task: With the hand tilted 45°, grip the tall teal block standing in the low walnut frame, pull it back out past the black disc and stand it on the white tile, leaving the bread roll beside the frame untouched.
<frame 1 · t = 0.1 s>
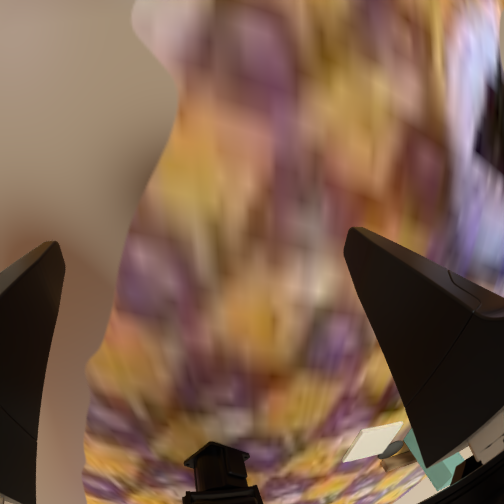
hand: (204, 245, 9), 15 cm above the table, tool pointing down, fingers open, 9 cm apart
black disc: (390, 449, 44), on the table
white tile: (372, 441, 41), on the table
teal block: (417, 429, 43), on the table
walnut frame: (418, 429, 43), on the table
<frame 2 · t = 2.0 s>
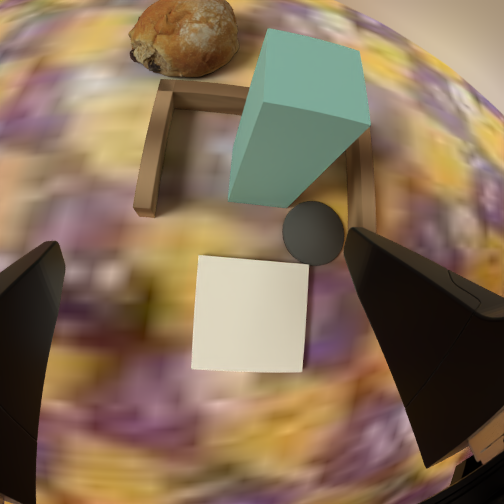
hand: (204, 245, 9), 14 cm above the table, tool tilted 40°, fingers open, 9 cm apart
black disc: (313, 233, 24), on the table
white tile: (250, 316, 23), on the table
bread roll: (184, 48, 25), on the table
teal block: (259, 177, 24), on the table
walnut frame: (259, 177, 24), on the table
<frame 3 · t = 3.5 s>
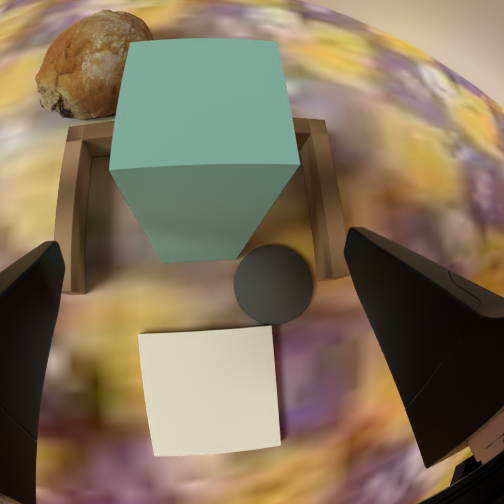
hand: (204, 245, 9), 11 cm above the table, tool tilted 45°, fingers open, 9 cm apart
black disc: (273, 284, 20), on the table
white tile: (210, 393, 18), on the table
bread roll: (101, 81, 21), on the table
teal block: (198, 226, 20), on the table
walnut frame: (198, 226, 20), on the table
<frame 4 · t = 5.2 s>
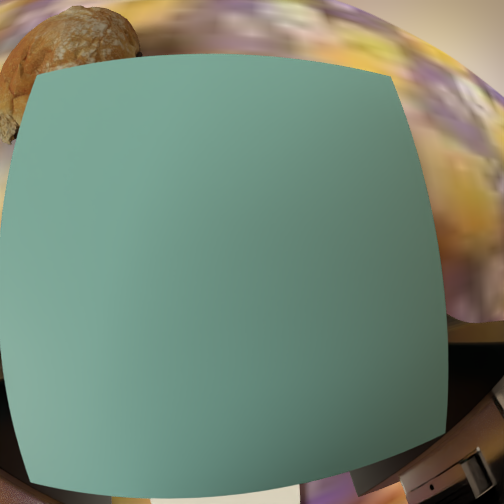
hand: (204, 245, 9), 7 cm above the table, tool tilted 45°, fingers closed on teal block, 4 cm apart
white tile: (224, 489, 13), on the table
bread roll: (74, 98, 16), on the table
teal block: (203, 302, 15), on the table, touching gripper
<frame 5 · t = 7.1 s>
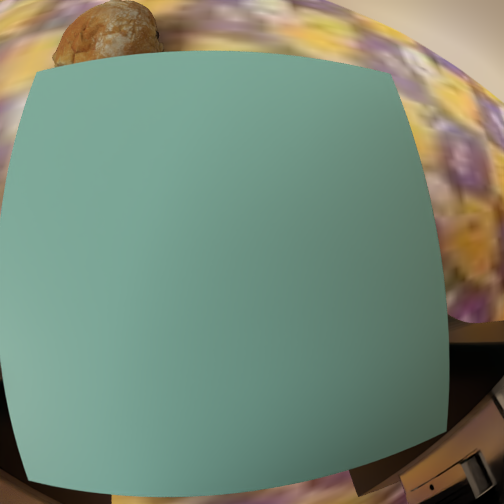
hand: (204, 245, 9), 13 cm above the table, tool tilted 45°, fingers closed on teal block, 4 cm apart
bread roll: (110, 61, 24), on the table
teal block: (203, 301, 15), point 6 cm above the table, touching gripper
when the fingers open (8 cm above the table, at t = 8.9 s): teal block stays where it is, resting on white tile.
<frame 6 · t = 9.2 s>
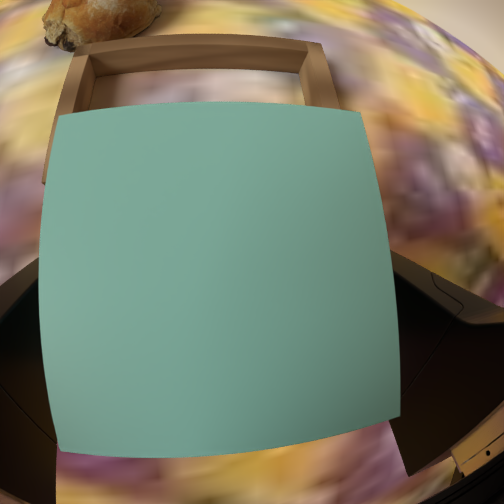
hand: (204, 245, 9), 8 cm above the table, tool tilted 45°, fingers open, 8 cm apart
bread roll: (103, 24, 20), on the table
teal block: (202, 302, 16), point 1 cm above the table, touching white tile
walnut frame: (196, 129, 19), on the table
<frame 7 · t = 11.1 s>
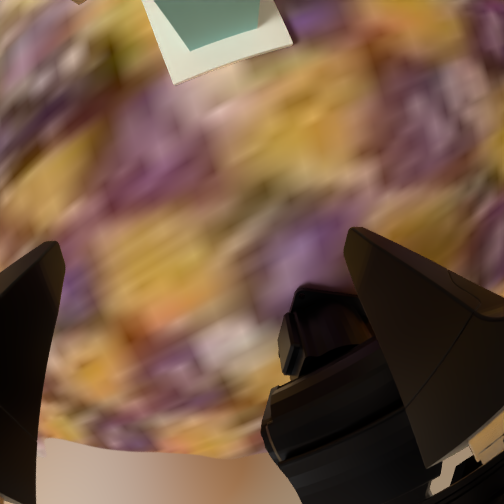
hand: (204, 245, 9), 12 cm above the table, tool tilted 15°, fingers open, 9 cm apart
white tile: (213, 15, 16), on the table
teal block: (212, 12, 16), point 1 cm above the table, touching white tile
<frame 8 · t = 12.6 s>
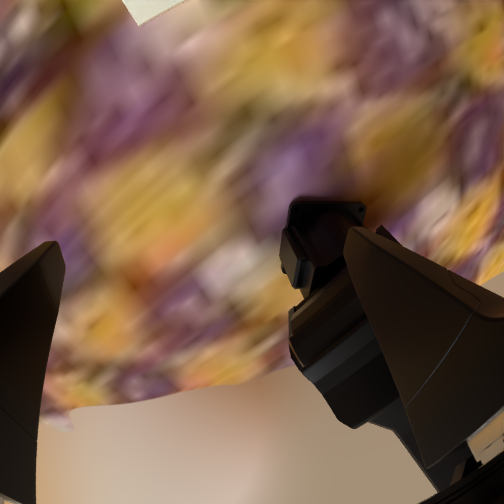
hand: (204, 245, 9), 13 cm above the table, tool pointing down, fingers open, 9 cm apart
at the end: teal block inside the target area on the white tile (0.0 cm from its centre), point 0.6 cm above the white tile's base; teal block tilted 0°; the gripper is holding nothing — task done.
